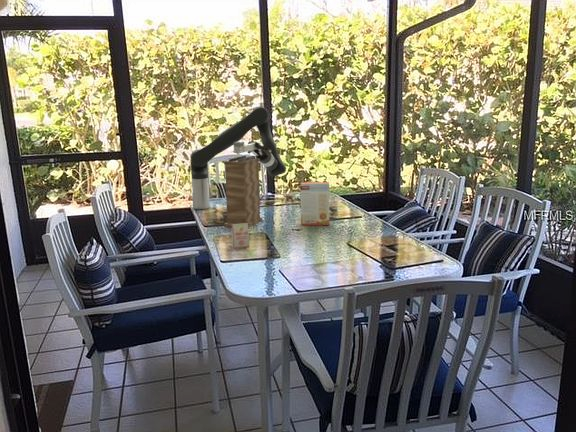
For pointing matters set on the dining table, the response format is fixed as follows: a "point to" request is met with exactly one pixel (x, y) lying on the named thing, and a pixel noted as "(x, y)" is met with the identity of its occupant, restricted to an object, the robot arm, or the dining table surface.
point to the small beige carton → (240, 235)
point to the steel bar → (244, 147)
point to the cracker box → (314, 203)
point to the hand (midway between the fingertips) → (252, 143)
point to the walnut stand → (242, 191)
